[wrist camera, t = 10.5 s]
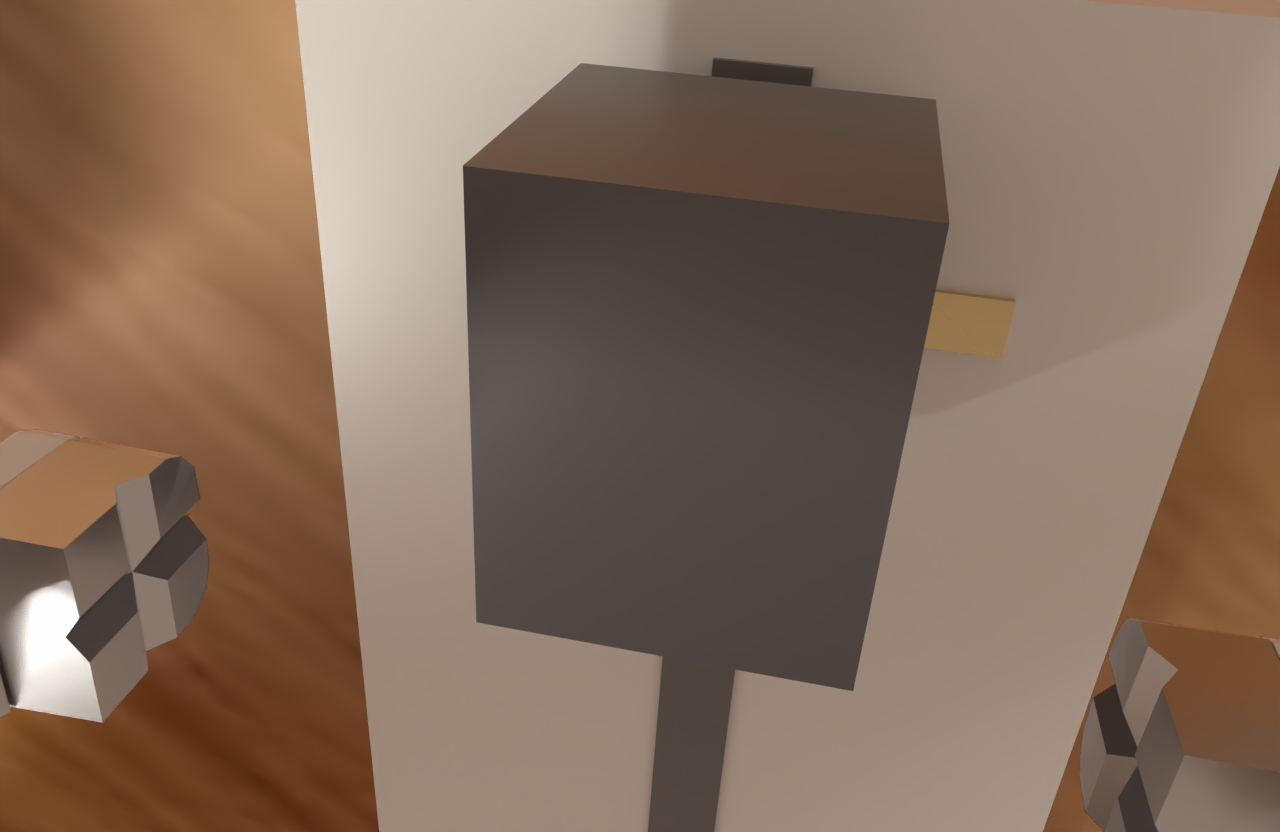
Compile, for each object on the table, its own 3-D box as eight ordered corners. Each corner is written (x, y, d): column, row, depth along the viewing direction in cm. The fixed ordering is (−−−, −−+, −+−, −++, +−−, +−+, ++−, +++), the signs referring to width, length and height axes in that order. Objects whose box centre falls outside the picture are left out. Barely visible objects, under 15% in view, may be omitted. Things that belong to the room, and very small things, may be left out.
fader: (866, 456, 15) (853, 691, 11) (582, 413, 16) (476, 621, 12) (934, 86, 13) (949, 223, 9) (593, 52, 13) (463, 165, 9)
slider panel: (935, 988, 25) (939, 1126, 23) (442, 879, 27) (393, 996, 25) (1254, -21, 14) (1334, 23, 12) (385, -93, 16) (284, -69, 13)
